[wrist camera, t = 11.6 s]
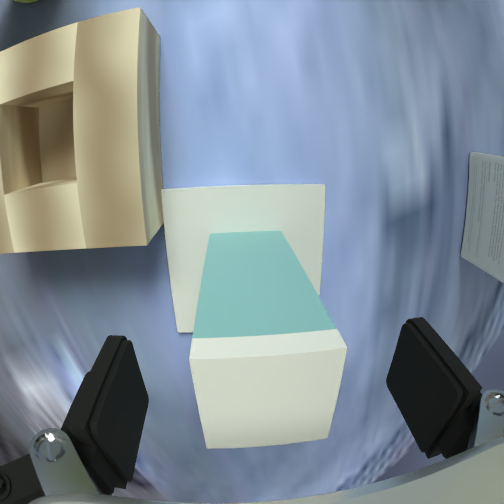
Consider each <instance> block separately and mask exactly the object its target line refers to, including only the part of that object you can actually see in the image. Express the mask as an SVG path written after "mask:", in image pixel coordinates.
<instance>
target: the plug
mask: <svg viewBox="0 0 504 504" xmlns="http://www.w3.org/2000/svg"><path fill="white" fill-rule="evenodd" d="M346 352H347V346H346V344H345V343H344V341H343V339H342V337H341V335H340V333H339V332H338V330H337V328H336V326H335V324H334V322H333V321H332V319H331V317H330V315H329V313H328V312H327V310H326V308H325V306H324V304H323V303H322V301H321V299H320V297H319V296H318V294H317V292H316V290H315V288H314V287H313V285H312V283H311V281H310V280H309V278H308V276H307V274H306V273H305V271H304V269H303V267H302V266H301V264H300V262H299V261H298V259H297V257H296V255H295V254H294V252H293V250H292V248H291V247H290V245H289V243H288V242H287V240H286V238H285V236H284V235H283V233H282V231H253V232H229V233H210V235H209V240H208V246H207V251H206V257H205V263H204V268H203V274H202V280H201V286H200V292H199V298H198V304H197V311H196V317H195V323H194V330H193V337H192V344H191V350H190V357H189V361H190V366H191V372H192V378H193V383H194V389H195V394H196V399H197V404H198V409H199V414H200V419H201V424H202V429H203V433H204V438H205V442H206V447H207V449H219V448H245V447H260V446H272V445H282V444H291V443H299V442H306V441H313V440H320V439H326V438H328V434H329V431H330V427H331V423H332V418H333V414H334V410H335V406H336V401H337V397H338V392H339V388H340V383H341V378H342V373H343V368H344V363H345V358H346Z"/></svg>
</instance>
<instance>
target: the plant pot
mask: <svg viewBox="0 0 504 504" xmlns="http://www.w3.org/2000/svg"><path fill="white" fill-rule="evenodd" d="M13 1H17V2H21V3H32V2H35V1H38V0H13Z"/></svg>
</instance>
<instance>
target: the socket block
mask: <svg viewBox="0 0 504 504" xmlns="http://www.w3.org/2000/svg"><path fill="white" fill-rule="evenodd" d="M159 61H160V36H159V34H158V33H157V31H156V30H155V28H154V27H153V25H152V24H151V22H150V21H149V19H148V18H147V16H146V15H145V13H144V12H143V10H142V9H141V7H139V8H134V9H129V10H124V11H119V12H115V13H110V14H106V15H102V16H98V17H94V18H90V19H87V20H83V21H80V22H77V23H73V24H70V25H67V26H64V27H61V28H58V29H55V30H52V31H49V32H47V33H44V34H41V35H39V36H36V37H33V38H31V39H28V40H26V41H24V42H21V43H19V44H17V45H14V46H12V47H10V48H8V49H6V50H3V51H1V52H0V254H2V253H18V252H34V251H51V250H68V249H86V248H105V247H124V246H144V245H148V243H149V242H150V241H151V239H152V238H153V237H154V235H155V234H156V232H157V231H158V230H159V228H160V227H161V226H162V224H163V223H164V219H163V208H162V195H161V190H163V180H162V163H161V142H160V107H159Z"/></svg>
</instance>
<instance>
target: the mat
mask: <svg viewBox="0 0 504 504" xmlns="http://www.w3.org/2000/svg"><path fill="white" fill-rule="evenodd" d="M161 195H162V208H163V219H164V230H165V240H166V249H167V258H168V266H169V274H170V282H171V290H172V297H173V304H174V311H175V317H176V324H177V330H178V332H193V330H194V323H195V317H196V311H197V304H198V298H199V292H200V286H201V280H202V274H203V268H204V263H205V257H206V251H207V246H208V240H209V235H210V233H229V232H253V231H282V233H283V235H284V236H285V238H286V240H287V242H288V243H289V245H290V247H291V248H292V250H293V252H294V254H295V255H296V257H297V259H298V261H299V262H300V264H301V266H302V267H303V269H304V271H305V273H306V274H307V276H308V278H309V280H310V281H311V283H312V285H313V287H314V288H315V290H316V292H317V294H318V296H319V295H320V283H321V269H322V254H323V236H324V215H325V185H324V184H261V185H229V186H206V187H188V188H172V189H163V190H161Z"/></svg>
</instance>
